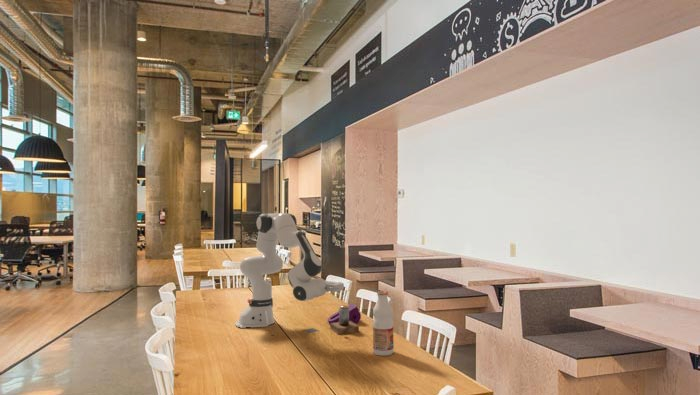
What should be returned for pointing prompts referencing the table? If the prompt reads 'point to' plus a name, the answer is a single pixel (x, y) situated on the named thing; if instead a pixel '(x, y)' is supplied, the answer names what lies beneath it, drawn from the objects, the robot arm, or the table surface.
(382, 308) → the fruit juice
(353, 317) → the mounting bracket
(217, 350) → the table surface
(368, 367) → the table surface
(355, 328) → the stand
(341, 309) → the grey can
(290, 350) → the table surface
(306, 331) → the gasket plate
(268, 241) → the robot arm
